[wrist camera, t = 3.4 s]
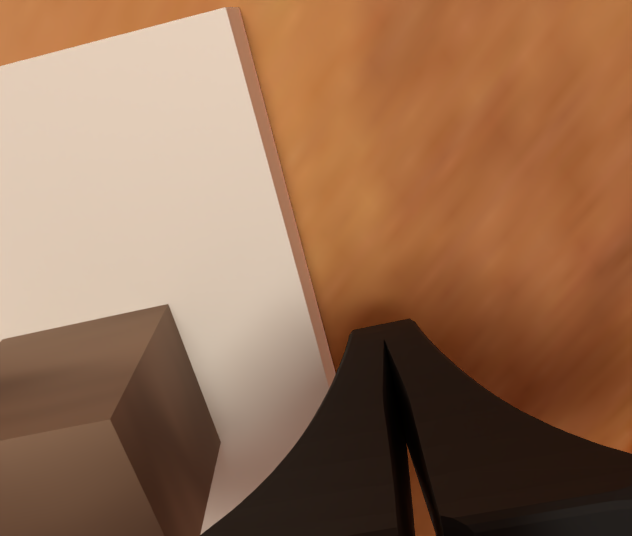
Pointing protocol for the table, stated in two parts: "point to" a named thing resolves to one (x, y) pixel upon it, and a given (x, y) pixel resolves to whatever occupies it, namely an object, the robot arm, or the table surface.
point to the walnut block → (104, 431)
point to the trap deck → (166, 224)
